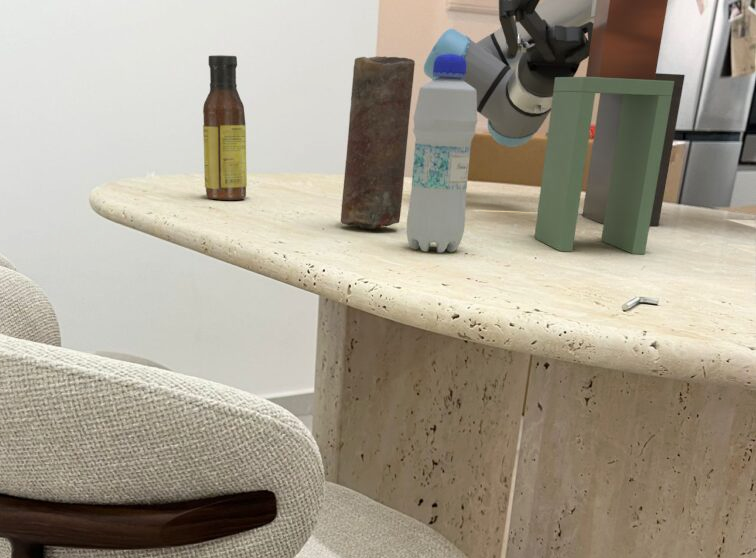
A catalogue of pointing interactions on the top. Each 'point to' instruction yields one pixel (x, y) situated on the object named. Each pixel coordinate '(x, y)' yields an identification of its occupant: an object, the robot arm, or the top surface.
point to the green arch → (630, 165)
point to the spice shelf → (606, 149)
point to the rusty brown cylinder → (377, 141)
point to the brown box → (626, 38)
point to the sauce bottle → (224, 133)
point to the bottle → (441, 156)
